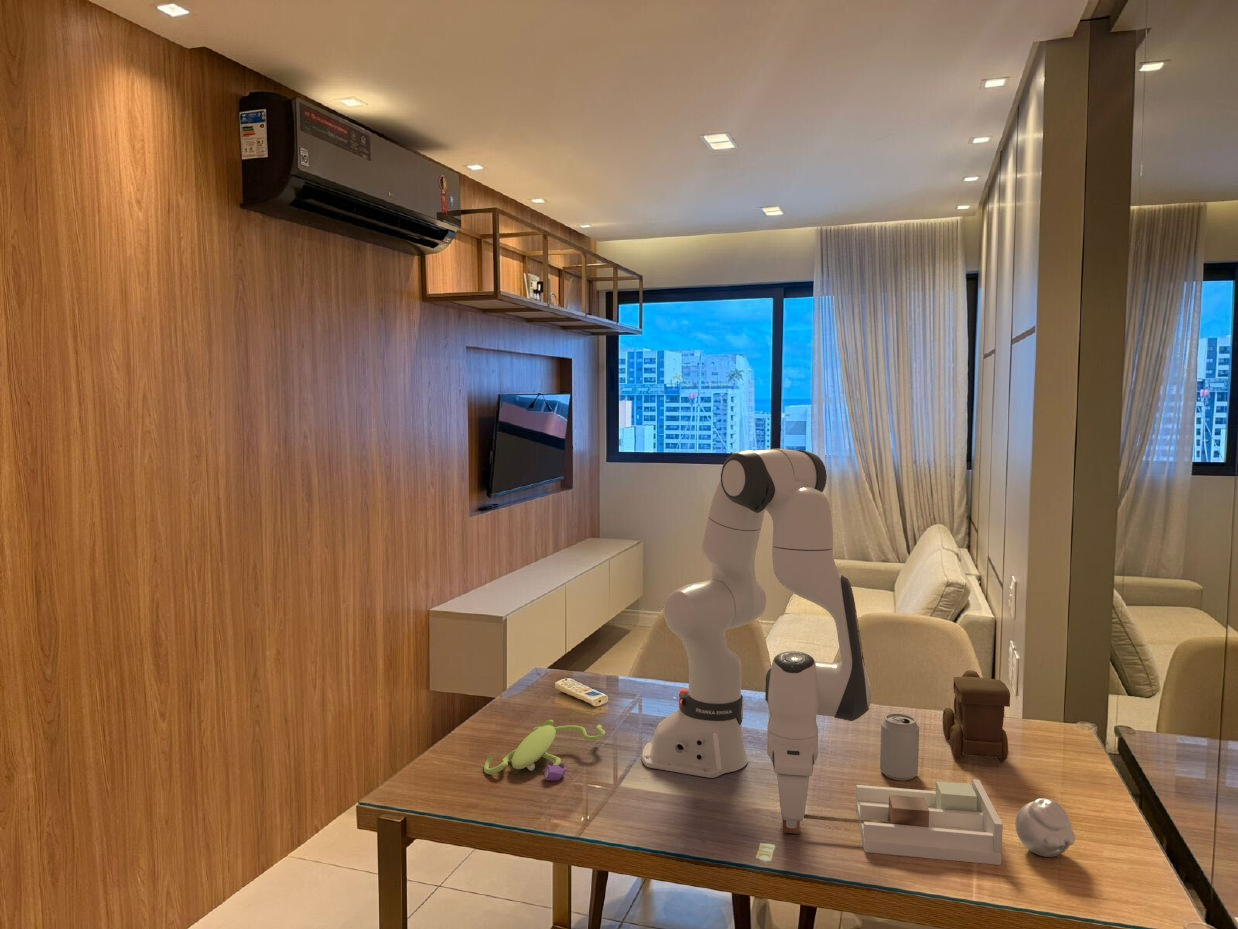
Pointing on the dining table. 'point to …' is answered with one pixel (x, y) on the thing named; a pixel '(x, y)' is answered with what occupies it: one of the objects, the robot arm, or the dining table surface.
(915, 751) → the can
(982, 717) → the wooden toy train
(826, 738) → the dining table surface
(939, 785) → the sage block
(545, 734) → the figurine
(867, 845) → the lane shelf
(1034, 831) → the grey round lump
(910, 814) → the brown block pusher rod
